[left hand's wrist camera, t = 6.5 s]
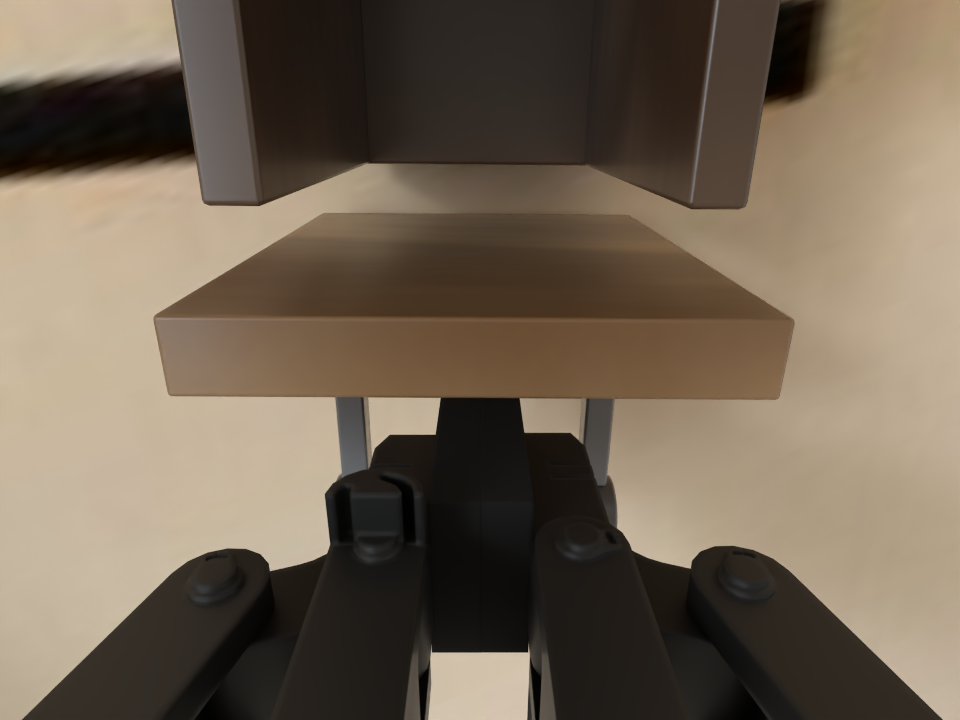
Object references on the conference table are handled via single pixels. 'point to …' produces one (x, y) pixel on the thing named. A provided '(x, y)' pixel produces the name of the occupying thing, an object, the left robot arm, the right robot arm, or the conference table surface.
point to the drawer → (475, 237)
